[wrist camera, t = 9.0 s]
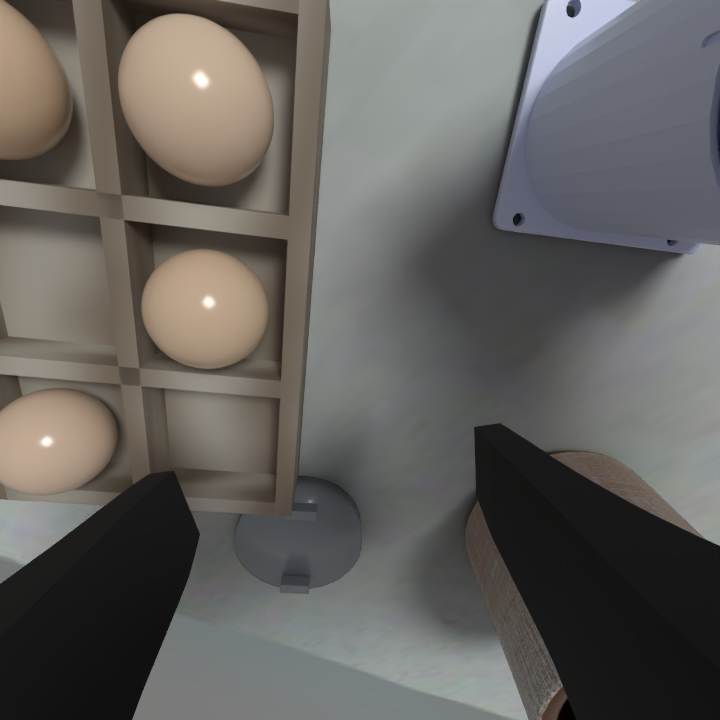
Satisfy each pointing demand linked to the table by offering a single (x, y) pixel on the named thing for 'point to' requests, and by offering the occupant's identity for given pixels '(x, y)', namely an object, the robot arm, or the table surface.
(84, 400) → the egg
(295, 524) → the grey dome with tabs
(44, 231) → the carton
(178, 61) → the egg
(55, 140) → the egg
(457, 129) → the table surface
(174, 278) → the egg loose
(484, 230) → the table surface
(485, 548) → the planter
